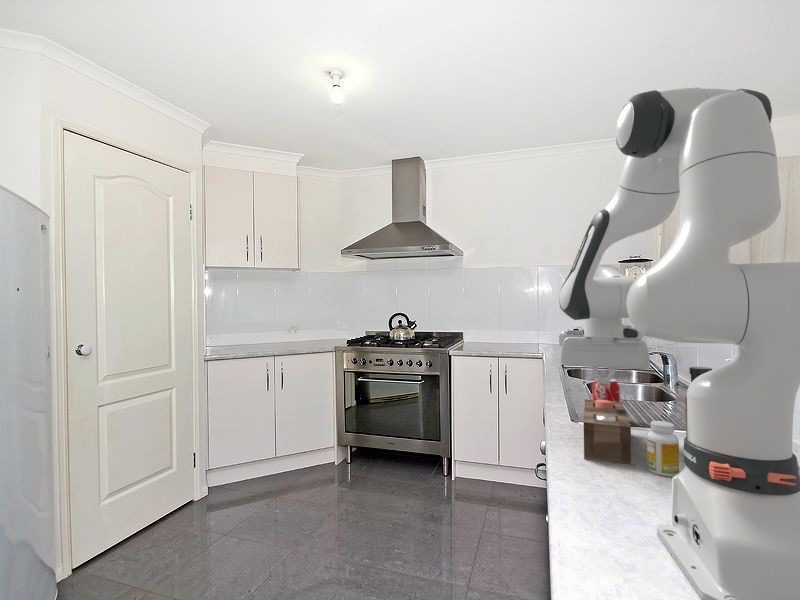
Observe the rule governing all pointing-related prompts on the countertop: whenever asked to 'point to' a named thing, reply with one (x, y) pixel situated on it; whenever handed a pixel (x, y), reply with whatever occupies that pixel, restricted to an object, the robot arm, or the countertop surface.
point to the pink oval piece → (604, 404)
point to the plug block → (607, 434)
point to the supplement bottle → (663, 449)
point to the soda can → (607, 391)
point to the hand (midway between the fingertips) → (603, 385)
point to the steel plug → (605, 417)
